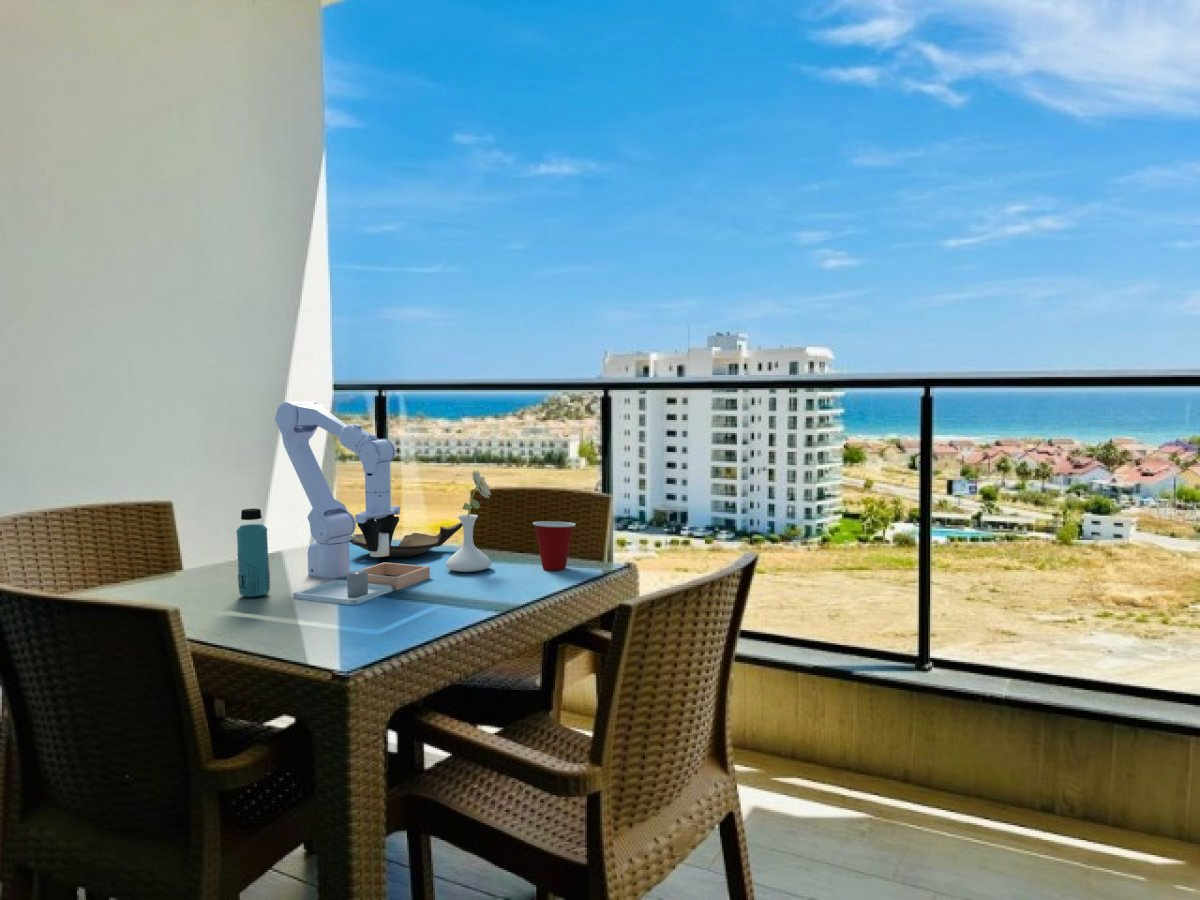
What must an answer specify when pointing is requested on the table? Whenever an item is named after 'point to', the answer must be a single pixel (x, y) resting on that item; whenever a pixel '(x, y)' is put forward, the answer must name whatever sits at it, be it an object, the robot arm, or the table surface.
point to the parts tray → (341, 593)
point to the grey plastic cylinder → (357, 583)
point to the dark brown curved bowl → (413, 542)
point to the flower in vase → (470, 536)
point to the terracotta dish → (397, 574)
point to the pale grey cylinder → (382, 546)
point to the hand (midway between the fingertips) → (379, 549)
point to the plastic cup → (554, 543)
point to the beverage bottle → (253, 556)
